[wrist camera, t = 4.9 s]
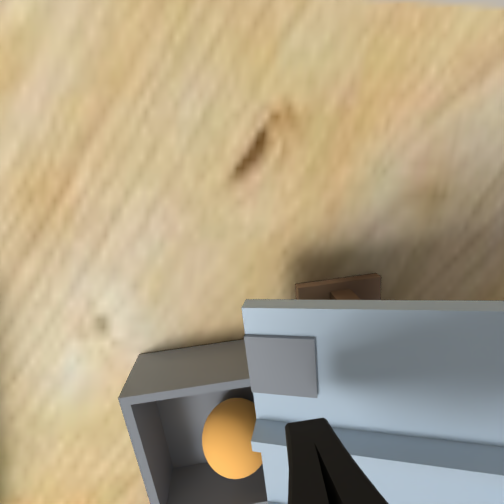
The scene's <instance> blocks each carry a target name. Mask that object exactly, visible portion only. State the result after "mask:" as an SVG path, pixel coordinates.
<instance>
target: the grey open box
mask: <svg viewBox="0 0 504 504" xmlns="http://www.w3.org/2000/svg"><path fill="white" fill-rule="evenodd" d="M230 398H244V399H247V400H250V401H251V402H253V403H254V396H253V392H251V385H250V377H249V370H248V363H247V356H246V348H245V341H244V339H242V340H235V341H229V342H222V343H215V344H208V345H201V346H194V347H187V348H180V349H174V350H167V351H160V352H153V353H146V354H139V356H138V358H137V360H136V362H135V364H134V366H133V368H132V370H131V372H130V374H129V377H128V379H127V381H126V383H125V385H124V387H123V389H122V391H121V393H120V395H119V398H118V400H119V403H120V406H121V410H122V413H123V416H124V419H125V423H126V426H127V429H128V432H129V436H130V439H131V442H132V445H133V449H134V452H135V455H136V458H137V462H138V465H139V468H140V471H141V475H142V478H143V481H144V484H145V488H146V491H147V494H148V497H149V501H150V504H267V502H268V500H267V492H266V485H265V478H264V470H263V463H262V465H261V466H260V467H259V468H258V469H257V470H256V471H255V472H254V473H252V474H251V475H249V476H247V477H245V478H241V479H229V478H226V477H223V476H221V475H220V474H218V473H217V472H215V471H214V470H213V469H212V467H211V466H210V465H209V463H208V461H207V459H206V457H205V455H204V451H203V446H202V433H203V428H204V424H205V422H206V419H207V417H208V416H209V414H210V413H211V411H212V410H213V409H214V408H215V407H216V406H217V405H218V404H220V403H221V402H223V401H225V400H227V399H230Z"/></svg>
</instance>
